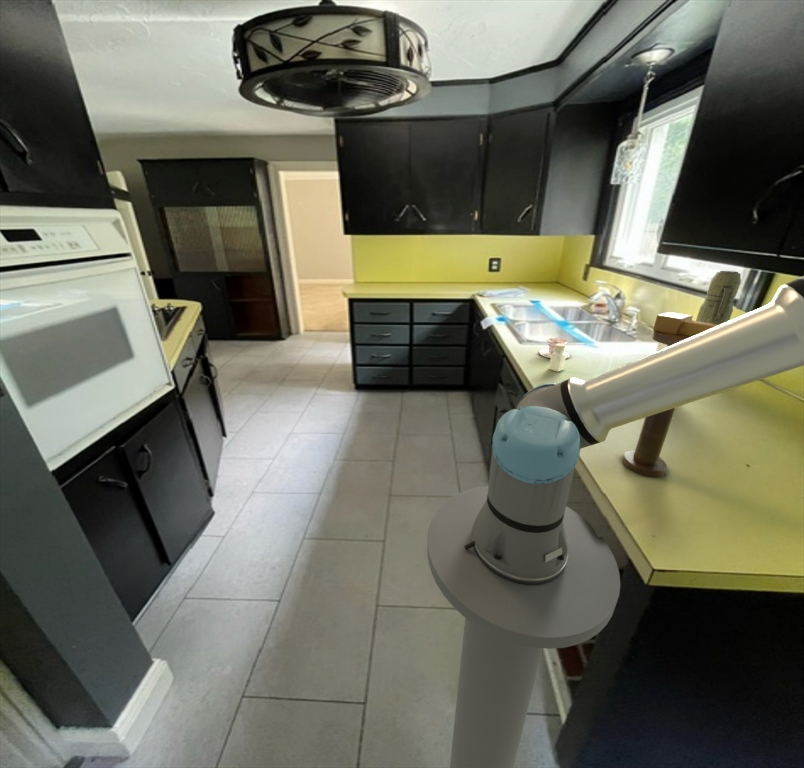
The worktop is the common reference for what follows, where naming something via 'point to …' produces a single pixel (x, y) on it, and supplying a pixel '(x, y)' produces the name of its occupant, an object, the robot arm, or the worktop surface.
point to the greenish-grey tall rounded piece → (720, 298)
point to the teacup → (553, 347)
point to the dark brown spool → (653, 429)
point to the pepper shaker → (557, 358)
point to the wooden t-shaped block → (680, 324)
